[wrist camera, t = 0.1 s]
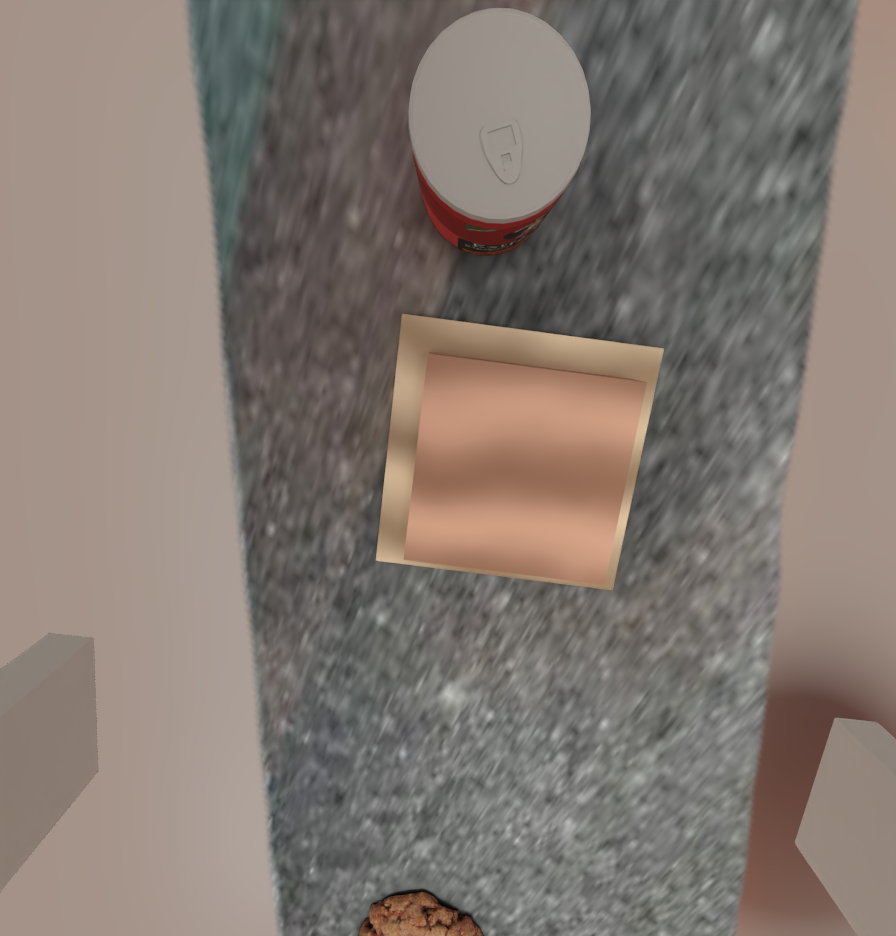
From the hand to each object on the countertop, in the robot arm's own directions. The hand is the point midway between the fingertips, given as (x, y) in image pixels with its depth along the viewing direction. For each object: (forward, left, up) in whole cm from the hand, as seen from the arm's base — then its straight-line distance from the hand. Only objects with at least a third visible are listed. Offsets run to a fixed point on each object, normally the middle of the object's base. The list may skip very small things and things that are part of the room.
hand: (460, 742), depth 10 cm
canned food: (-16, 0, -28) cm, 32 cm away
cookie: (+42, +3, -29) cm, 51 cm away
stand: (0, +4, -28) cm, 28 cm away
